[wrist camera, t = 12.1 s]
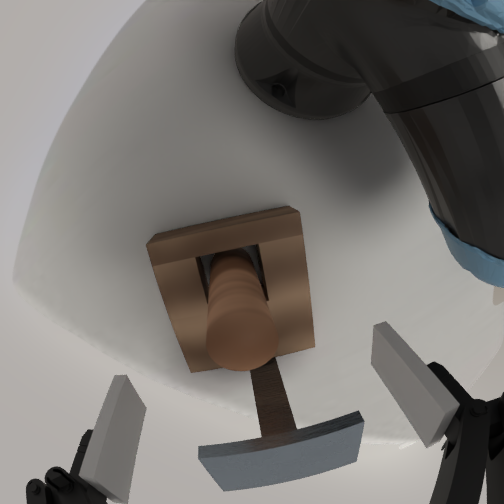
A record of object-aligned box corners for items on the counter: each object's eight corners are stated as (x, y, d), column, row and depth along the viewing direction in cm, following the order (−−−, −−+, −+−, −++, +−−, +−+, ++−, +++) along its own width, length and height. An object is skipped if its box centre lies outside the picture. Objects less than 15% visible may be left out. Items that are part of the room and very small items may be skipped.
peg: (206, 250, 29) (197, 321, 15) (248, 241, 29) (273, 305, 16) (215, 288, 30) (216, 376, 17) (255, 280, 30) (282, 362, 17)
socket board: (155, 234, 28) (145, 244, 24) (288, 205, 28) (299, 211, 25) (193, 351, 32) (191, 372, 28) (305, 328, 33) (315, 346, 29)
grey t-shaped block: (203, 332, 32) (198, 458, 15) (303, 311, 32) (364, 421, 16) (218, 375, 34) (223, 491, 17) (308, 355, 34) (356, 461, 18)
